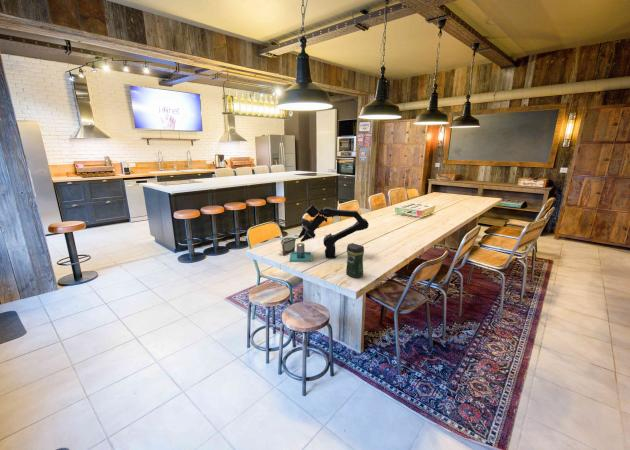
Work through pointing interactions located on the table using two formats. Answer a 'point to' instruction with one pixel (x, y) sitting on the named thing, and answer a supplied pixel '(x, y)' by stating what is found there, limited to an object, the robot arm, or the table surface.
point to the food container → (288, 245)
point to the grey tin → (300, 250)
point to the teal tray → (294, 258)
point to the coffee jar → (355, 260)
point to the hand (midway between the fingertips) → (299, 239)
